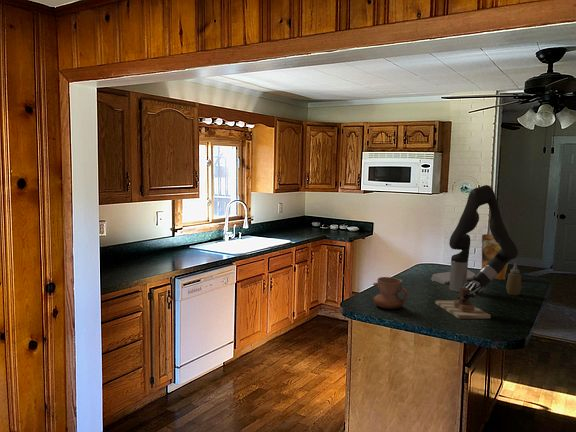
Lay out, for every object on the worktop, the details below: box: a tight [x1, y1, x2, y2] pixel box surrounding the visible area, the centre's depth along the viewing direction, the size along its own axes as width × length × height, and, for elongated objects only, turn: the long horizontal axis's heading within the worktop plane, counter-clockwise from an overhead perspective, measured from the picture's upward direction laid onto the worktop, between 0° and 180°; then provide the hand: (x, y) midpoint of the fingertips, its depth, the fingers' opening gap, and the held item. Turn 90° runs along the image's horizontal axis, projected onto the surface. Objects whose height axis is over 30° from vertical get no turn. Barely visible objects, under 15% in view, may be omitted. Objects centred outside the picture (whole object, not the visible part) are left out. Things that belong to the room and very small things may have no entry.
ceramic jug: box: [372, 276, 409, 310], centre depth 246 cm, size 18×14×14 cm
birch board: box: [434, 299, 492, 320], centre depth 246 cm, size 26×16×2 cm, turn 8°
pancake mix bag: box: [481, 233, 509, 281], centre depth 324 cm, size 7×19×28 cm, turn 47°
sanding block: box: [454, 288, 475, 311], centre depth 243 cm, size 9×6×10 cm, turn 8°
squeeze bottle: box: [505, 262, 522, 296], centre depth 281 cm, size 8×8×18 cm
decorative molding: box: [430, 269, 476, 285], centre depth 315 cm, size 34×5×10 cm
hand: (460, 299), depth 243 cm, fingers closed on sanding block, 3 cm apart
